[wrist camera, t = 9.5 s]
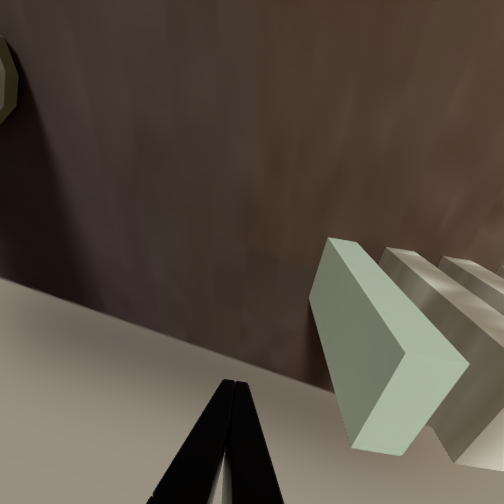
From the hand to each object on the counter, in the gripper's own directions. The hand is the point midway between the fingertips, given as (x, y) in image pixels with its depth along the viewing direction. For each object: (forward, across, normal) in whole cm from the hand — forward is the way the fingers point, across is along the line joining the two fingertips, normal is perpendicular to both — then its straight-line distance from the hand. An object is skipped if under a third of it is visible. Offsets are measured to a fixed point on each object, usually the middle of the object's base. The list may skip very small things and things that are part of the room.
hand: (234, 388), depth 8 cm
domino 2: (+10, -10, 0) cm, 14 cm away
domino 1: (+10, -6, 0) cm, 12 cm away
